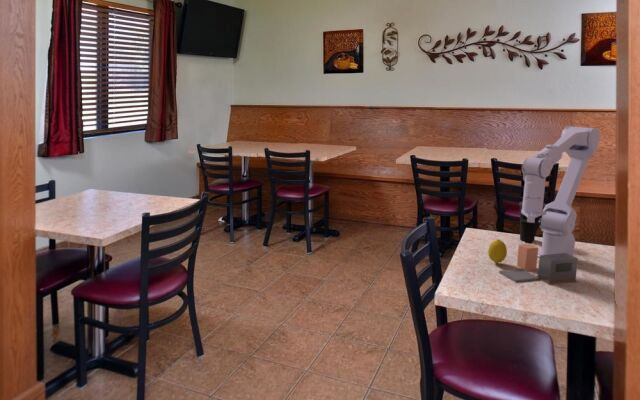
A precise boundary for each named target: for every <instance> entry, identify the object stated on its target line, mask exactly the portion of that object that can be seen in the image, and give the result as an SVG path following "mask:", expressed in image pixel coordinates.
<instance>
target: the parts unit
mask: <svg viewBox="0 0 640 400" xmlns="http://www.w3.org/2000/svg"><path fill="white" fill-rule="evenodd" d="M538 258H539V259H538V260H539V261H538V269H537V275H536V276H537V277H539V280H540V281H542V282H544V283H546V284H547V285H556V284H558V285H559V284H565V283H566V284H567V283H574V282H577V281H578V279H577V271H578V270H577V269H578V261H579V258H578V257H577V256H576V257H575V256H574V255H573V256H572V255H569V254H567V253H560V254H549V255H540V257H538Z"/></svg>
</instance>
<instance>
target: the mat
mask: <svg viewBox="0 0 640 400" xmlns="http://www.w3.org/2000/svg"><path fill="white" fill-rule="evenodd" d="M498 271H499V274H501V275H502V276H504V277H505V278H507V279H509V280H511V281H513V282H515V283H521V282H531V281H532V282H533V281H539V280H540V279H539V277H537V276H538V275H535V274H533V273H531V272H529V270H524V269H521V268H516V269H505V270H498Z"/></svg>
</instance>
